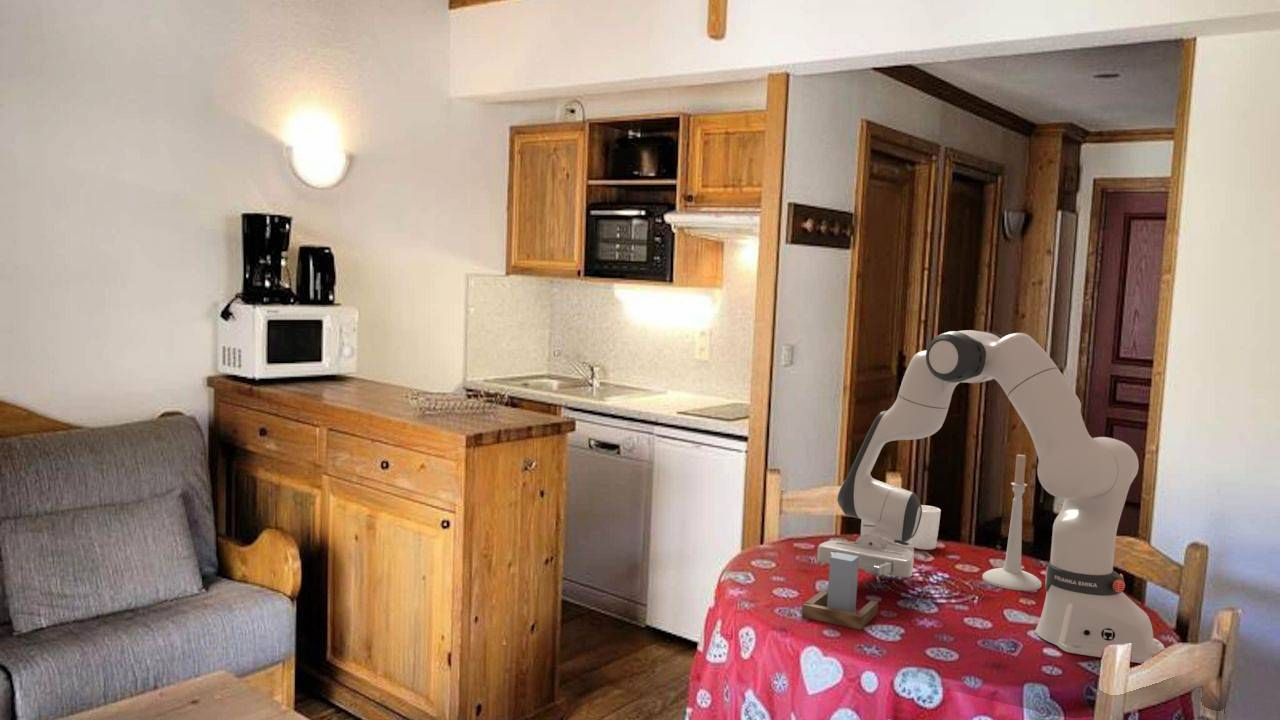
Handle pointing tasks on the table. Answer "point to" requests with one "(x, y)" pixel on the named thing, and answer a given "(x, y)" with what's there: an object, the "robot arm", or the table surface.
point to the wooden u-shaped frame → (838, 612)
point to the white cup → (927, 529)
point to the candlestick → (1014, 544)
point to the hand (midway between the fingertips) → (854, 566)
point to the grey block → (843, 582)
